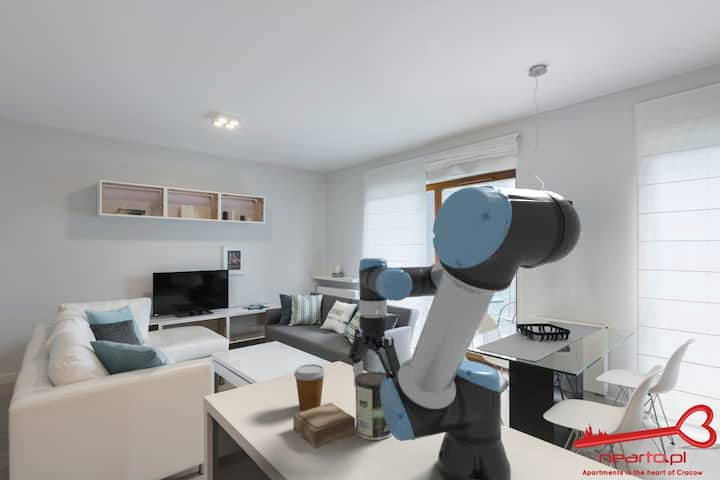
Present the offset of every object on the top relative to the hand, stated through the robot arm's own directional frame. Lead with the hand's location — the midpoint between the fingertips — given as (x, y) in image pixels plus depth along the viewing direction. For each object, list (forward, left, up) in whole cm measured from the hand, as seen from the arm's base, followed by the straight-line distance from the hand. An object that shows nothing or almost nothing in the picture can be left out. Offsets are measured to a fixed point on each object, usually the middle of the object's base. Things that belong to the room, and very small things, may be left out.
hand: (373, 393), depth 98 cm
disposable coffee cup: (+23, +7, -10) cm, 26 cm away
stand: (+8, +11, -10) cm, 17 cm away
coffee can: (0, 0, -10) cm, 10 cm away
